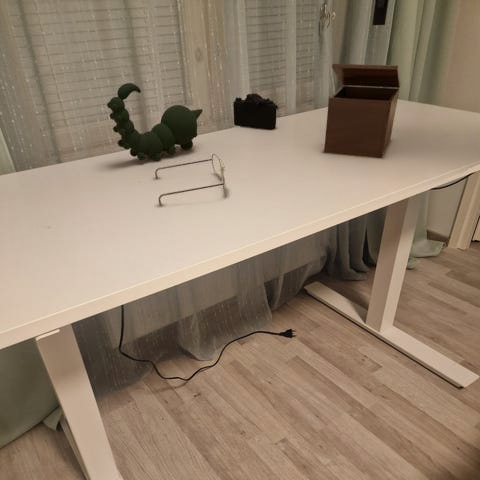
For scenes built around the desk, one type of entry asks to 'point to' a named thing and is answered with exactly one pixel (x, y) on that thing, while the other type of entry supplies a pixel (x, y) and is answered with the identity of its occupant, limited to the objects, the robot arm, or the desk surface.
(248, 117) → the film camera
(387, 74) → the lid
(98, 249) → the desk surface
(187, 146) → the toy figurine
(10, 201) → the desk surface
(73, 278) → the desk surface
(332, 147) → the chest
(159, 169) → the eyeglasses
